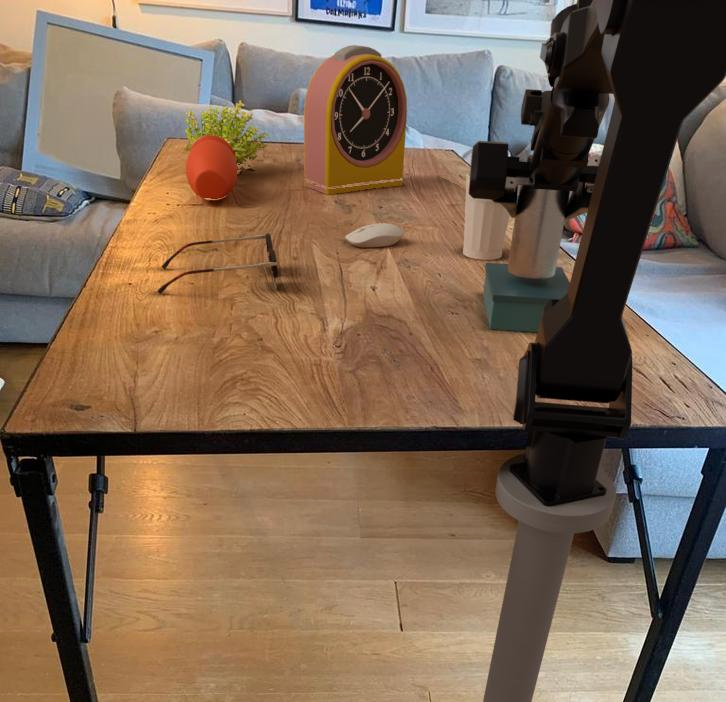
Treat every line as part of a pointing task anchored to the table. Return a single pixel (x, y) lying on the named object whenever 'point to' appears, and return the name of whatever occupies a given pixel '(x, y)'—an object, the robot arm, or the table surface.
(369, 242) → the computer mouse
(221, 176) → the potted plant
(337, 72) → the alarm clock
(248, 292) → the table surface
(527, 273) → the flask
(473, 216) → the cup
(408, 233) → the table surface
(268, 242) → the sunglasses
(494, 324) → the lidded box
